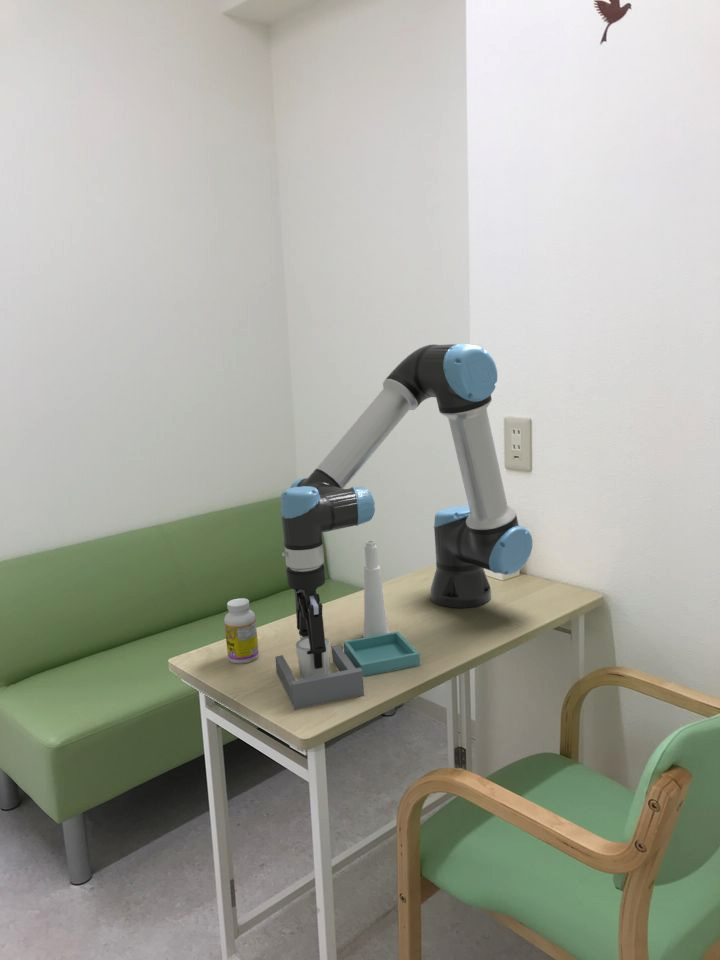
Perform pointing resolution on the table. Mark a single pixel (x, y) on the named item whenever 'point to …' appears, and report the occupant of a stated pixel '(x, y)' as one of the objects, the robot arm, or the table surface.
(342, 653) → the bay
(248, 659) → the supplement bottle
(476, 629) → the table surface
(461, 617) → the table surface
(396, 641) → the tray
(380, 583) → the cosmetic bottle
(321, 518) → the robot arm
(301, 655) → the shot glass
